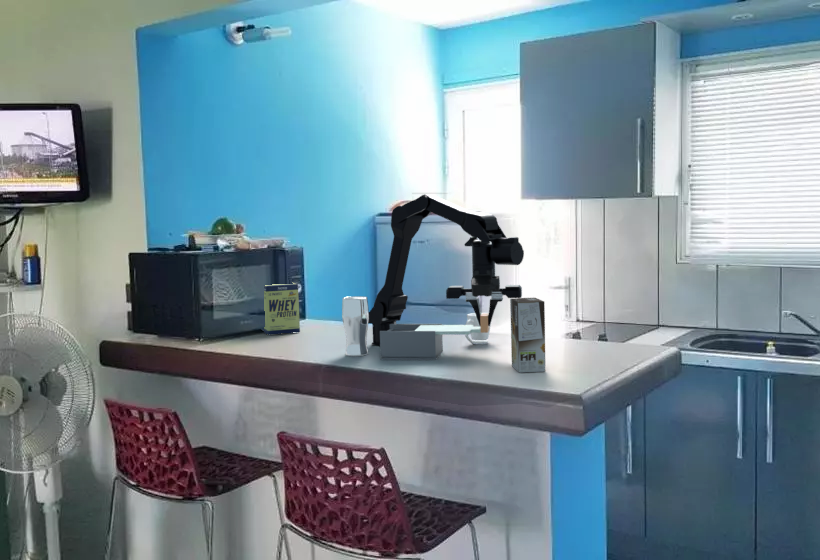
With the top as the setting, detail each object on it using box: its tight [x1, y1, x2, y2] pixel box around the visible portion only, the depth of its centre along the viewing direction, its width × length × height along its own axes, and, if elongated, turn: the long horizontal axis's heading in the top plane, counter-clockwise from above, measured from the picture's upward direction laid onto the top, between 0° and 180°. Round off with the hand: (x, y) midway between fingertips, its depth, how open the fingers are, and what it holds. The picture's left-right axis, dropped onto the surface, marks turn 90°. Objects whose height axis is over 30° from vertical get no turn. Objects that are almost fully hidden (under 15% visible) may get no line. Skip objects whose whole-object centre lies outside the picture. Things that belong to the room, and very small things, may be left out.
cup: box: [464, 312, 492, 345], centre depth 221 cm, size 7×10×8 cm
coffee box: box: [509, 297, 546, 373], centre depth 184 cm, size 9×6×16 cm
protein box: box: [263, 282, 301, 336], centre depth 257 cm, size 10×16×16 cm
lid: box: [415, 312, 489, 336], centre depth 204 cm, size 18×11×4 cm, turn 80°
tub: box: [379, 323, 444, 361], centre depth 206 cm, size 14×13×7 cm
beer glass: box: [341, 295, 370, 357], centre depth 210 cm, size 7×7×15 cm
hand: (484, 325), depth 203 cm, fingers closed on lid, 2 cm apart
